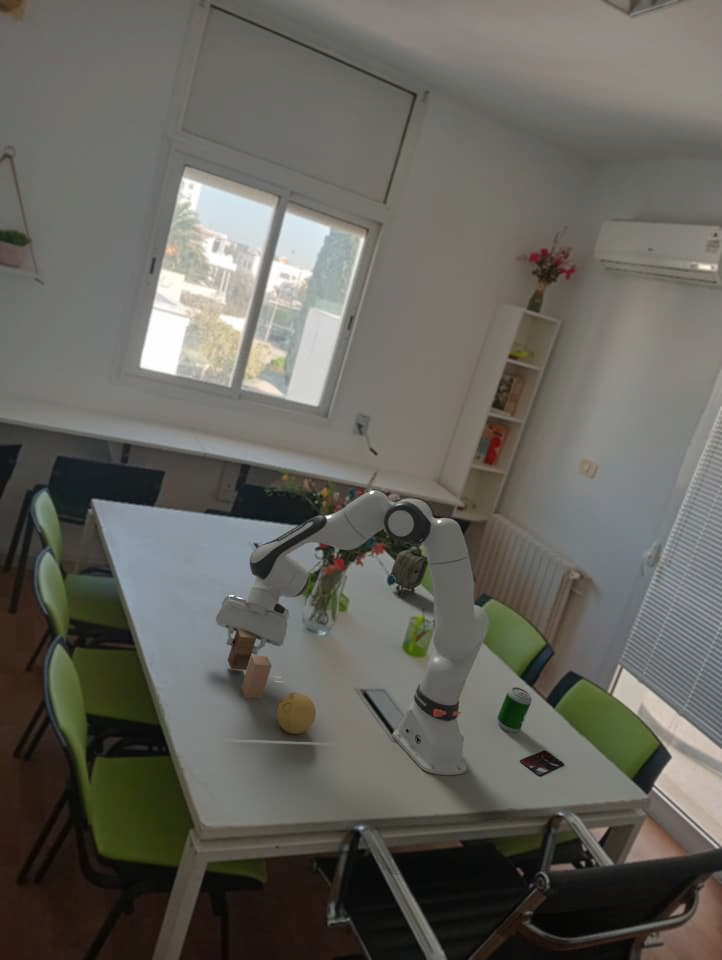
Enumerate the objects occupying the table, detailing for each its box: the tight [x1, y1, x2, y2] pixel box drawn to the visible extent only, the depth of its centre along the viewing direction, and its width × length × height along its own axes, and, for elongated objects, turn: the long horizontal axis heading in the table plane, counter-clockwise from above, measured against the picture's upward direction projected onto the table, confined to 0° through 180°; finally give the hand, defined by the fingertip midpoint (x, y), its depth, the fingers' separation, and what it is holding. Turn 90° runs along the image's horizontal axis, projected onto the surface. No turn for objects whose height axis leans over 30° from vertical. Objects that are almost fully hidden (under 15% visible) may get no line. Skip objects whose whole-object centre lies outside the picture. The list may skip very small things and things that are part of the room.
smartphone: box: [519, 749, 565, 777], centre depth 212 cm, size 7×1×15 cm
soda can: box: [496, 686, 533, 733], centre depth 226 cm, size 8×8×12 cm
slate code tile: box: [271, 675, 285, 684], centre depth 210 cm, size 8×8×1 cm
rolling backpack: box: [390, 543, 428, 597], centre depth 310 cm, size 14×9×25 cm, turn 148°
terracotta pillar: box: [241, 654, 272, 700], centre depth 198 cm, size 4×4×10 cm
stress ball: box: [275, 692, 316, 735], centre depth 188 cm, size 10×10×10 cm
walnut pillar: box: [227, 629, 257, 671], centre depth 206 cm, size 4×4×10 cm
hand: (241, 649), depth 205 cm, fingers closed on walnut pillar, 6 cm apart
